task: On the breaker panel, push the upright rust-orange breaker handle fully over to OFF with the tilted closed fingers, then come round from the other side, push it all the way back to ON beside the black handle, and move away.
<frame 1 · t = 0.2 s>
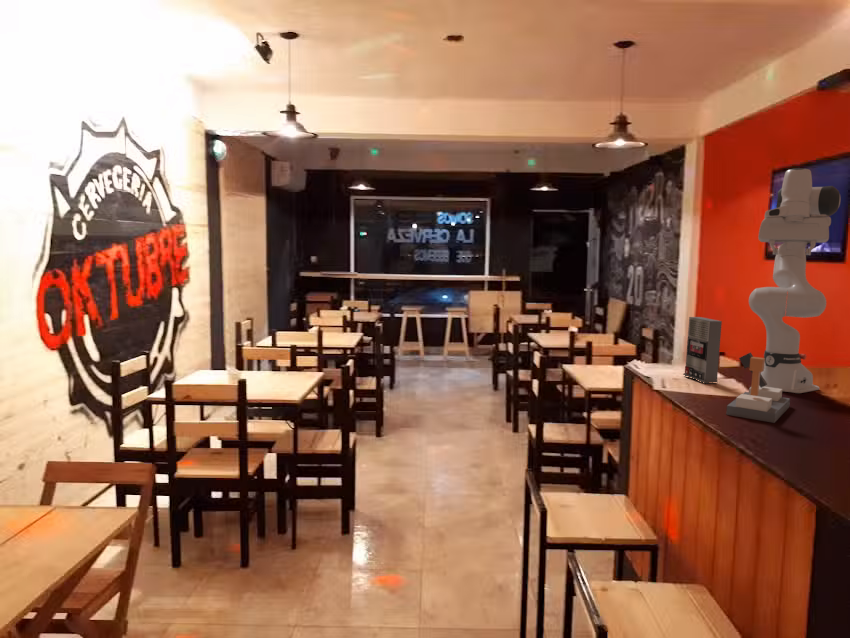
hand: (791, 254, 211), 52 cm above the countertop, fingers open, 8 cm apart
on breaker: (754, 370, 223), point 12 cm above the countertop, hinge at -35.0°
tripped breaker: (756, 376, 206), point 13 cm above the countertop, hinge at 0.0°
breaker panel: (758, 410, 215), on the countertop
cassette tape recorder: (699, 380, 262), on the countertop
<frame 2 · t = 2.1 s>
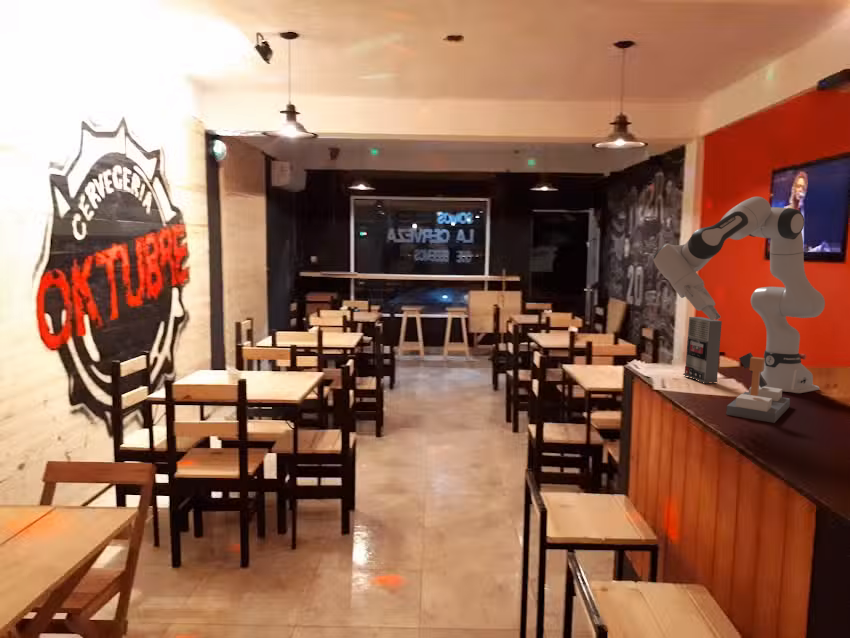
hand: (716, 318, 212), 30 cm above the countertop, fingers open, 8 cm apart
nothing on the countertop moved.
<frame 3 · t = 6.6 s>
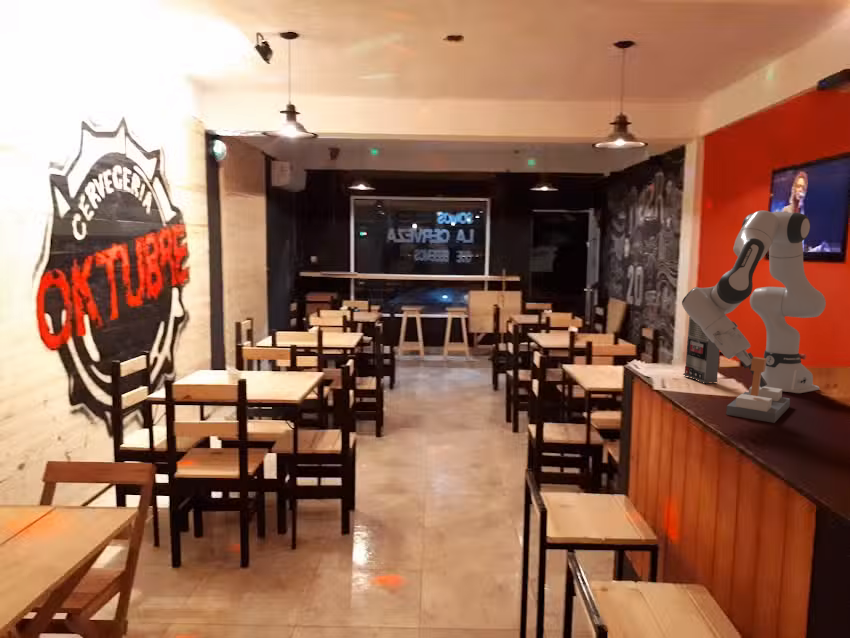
hand: (750, 364, 207), 17 cm above the countertop, fingers closed, pressing on tripped breaker
tripped breaker: (757, 376, 206), point 13 cm above the countertop, hinge at 2.4°, touching gripper
everything else where it was.
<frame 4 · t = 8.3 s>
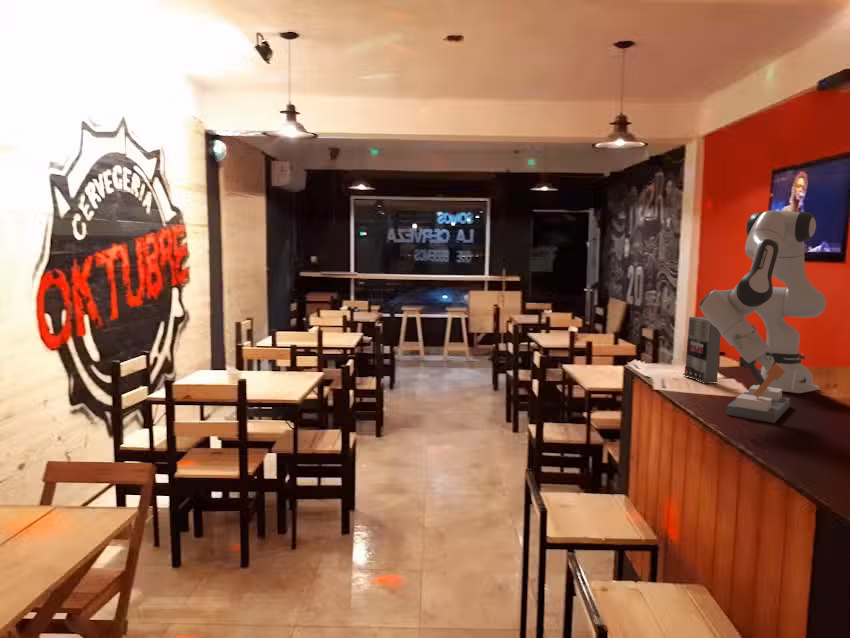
hand: (770, 368, 203), 16 cm above the countertop, fingers closed, pressing on tripped breaker
tripped breaker: (768, 381, 204), point 12 cm above the countertop, hinge at 30.9°, touching gripper
everything else where it was.
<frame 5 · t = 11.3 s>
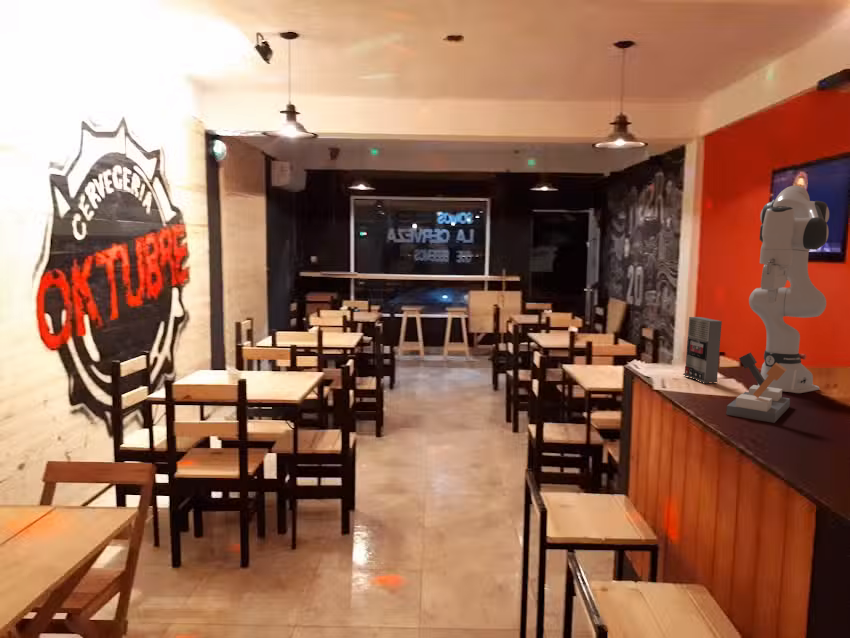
hand: (772, 302, 203), 37 cm above the countertop, fingers closed
tripped breaker: (768, 381, 204), point 12 cm above the countertop, hinge at 30.9°
everything else where it was.
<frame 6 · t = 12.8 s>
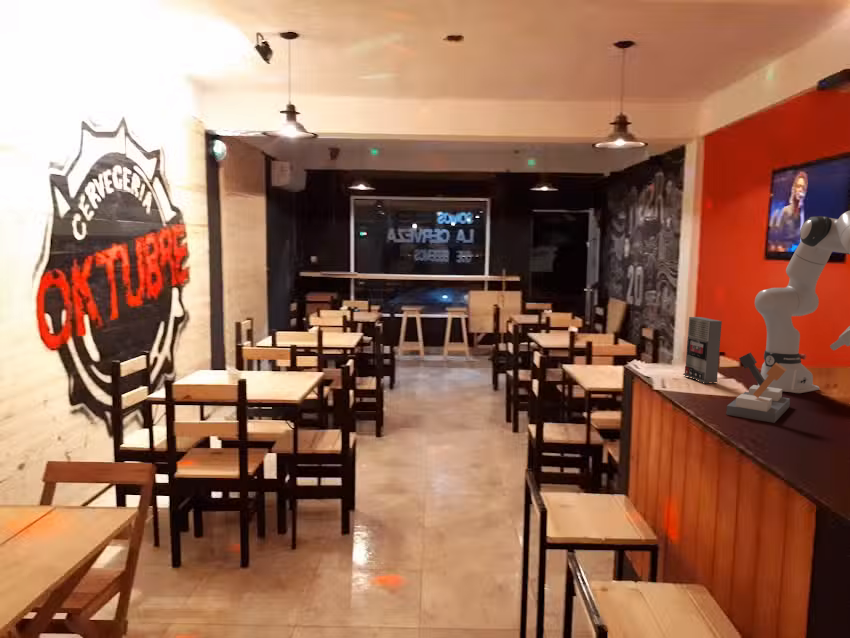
hand: (832, 348, 193), 25 cm above the countertop, fingers closed
nothing on the countertop moved.
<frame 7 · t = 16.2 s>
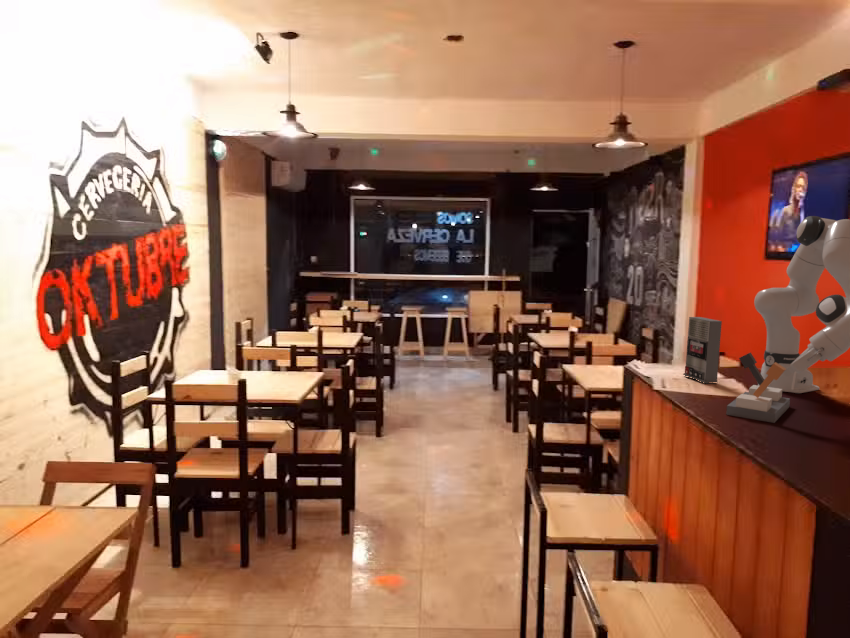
hand: (785, 373, 201), 15 cm above the countertop, fingers closed, pressing on tripped breaker
tripped breaker: (767, 381, 204), point 12 cm above the countertop, hinge at 29.8°, touching gripper
everything else where it was.
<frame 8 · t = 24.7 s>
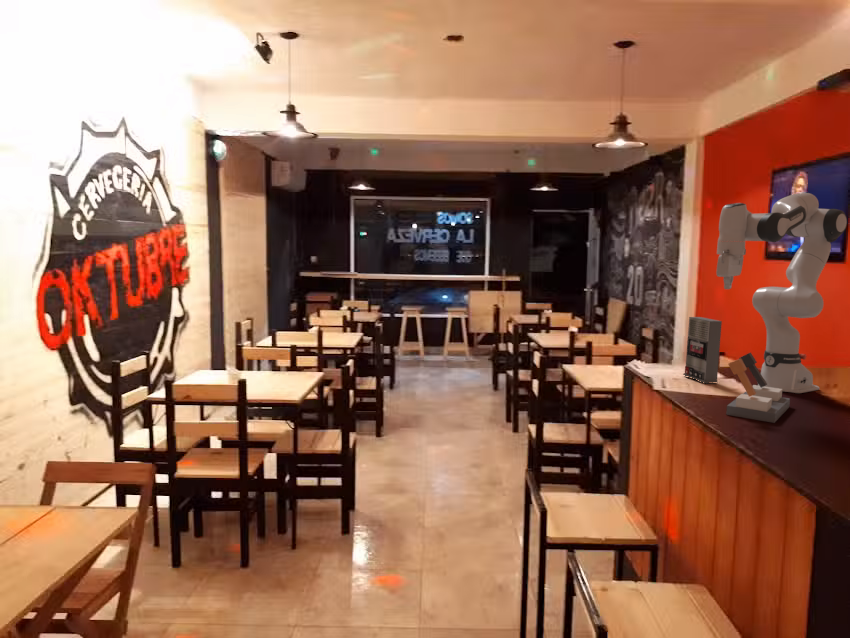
hand: (727, 289, 228), 39 cm above the countertop, fingers closed
tripped breaker: (743, 377, 209), point 12 cm above the countertop, hinge at -30.9°
everything else where it was.
at the end: tripped breaker at -31° (first picture: +0°); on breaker at -35° (first picture: -35°); the gripper is holding nothing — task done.
